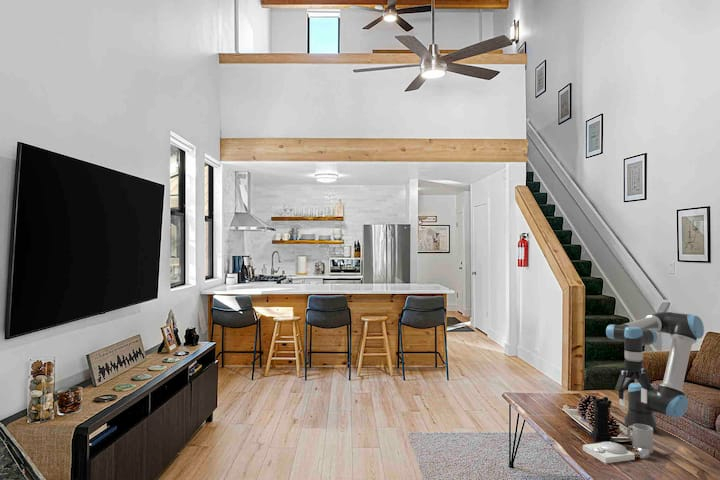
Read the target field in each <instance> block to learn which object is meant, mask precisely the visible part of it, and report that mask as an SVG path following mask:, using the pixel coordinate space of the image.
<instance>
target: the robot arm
mask: <svg viewBox="0 0 720 480" xmlns="http://www.w3.org/2000/svg"><path fill="white" fill-rule="evenodd" d="M704 327H705V326H704V323H703V320H702V318H700V316H698V315H695V314H694V315H693V314H691V313H690V314H689V313H681V312H680V313H679V312H672V311H663V312H656V313H651V314H648V315H646V316H645V317H644V318H642V319H637V320H634V321H630V322H626V323H622V324H608V325H607V326H606V329H605V334H606V337H607V338H608V339H610V340H614V341H619V342H624V367H625V370H622V369H621V370H620V372H619V377H618V378H617V379H618V380H617V382H616V385H615V388H614V390H615V391H617V392H618V398H619V399H618V400H619V403H618V405H619V406H621V407H626V392H625V391H626V389H627V388H628V389H627V396H628V397H627V399H628V400H627V407H628V408H627V412H626V415H625V418H624V419H623V420H624V421H623V422H624V423H623V424H624V425H626V426H625V427H627V426H628V427H629V426H633V424H645V425H648V426H651V427H652V428H653V433H654V432H657V431H658V424H657V423H656V419H655V415H654V413H659V414H660V415H661V414H662V415H665V416H668V417H671V418H677V419H678V418H681V417H682V416H684V415H685V414H686V413H687V412H686V411H687V410H688V406H689V403H688V402H689V400H688V397H687V396H685V395H686V392H685V391H684V390H683V386H684V382H685V377H686V373H687V369H688V363H689V360H690V355H691V351H692V345H694V344H696V343H697V340H698V339H703V336H704V332H705V328H704ZM657 333H665V334H669V336H670V338H671V339H672V342H671V346H670V349H669V354H668V358H667V363H666V367H665V372H664V377H663V379H662V380H663V381H662V382H661V383H659V384H658V386H657V388H655V386H654V384H653V383H651V382H650V379H649V376H648V373H647V369H646V368H643V354H644V353H643V346H651V345H653V344H655V343H656V342H657V340H658V335H657ZM634 380H637V381H638V382H632V381H634ZM628 427H627V428H628Z"/></svg>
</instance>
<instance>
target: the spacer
mask: <svg viewBox="0 0 720 480" xmlns="http://www.w3.org/2000/svg"><path fill="white" fill-rule="evenodd" d="M638 454H639V455H640V458H639V459H641V460H649V459H650V454H649V449H648V448H646V447H641V446H640V447H638V452H637V455H638Z"/></svg>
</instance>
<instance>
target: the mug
mask: <svg viewBox="0 0 720 480" xmlns="http://www.w3.org/2000/svg"><path fill="white" fill-rule="evenodd" d="M631 430H632V435H631ZM626 433H627V438H628V439H629V440H631V441H632V446H633V447H635V448H637V449H638V447H640V446H641V447H646V448H648V449H649V455H650V454H653V453H654V432H653V428H652V427H651V426H648V425H645V424H633V426H629V427H627V431H626Z"/></svg>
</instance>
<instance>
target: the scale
mask: <svg viewBox="0 0 720 480" xmlns="http://www.w3.org/2000/svg"><path fill="white" fill-rule="evenodd" d="M582 451H583V452H585V453H587V454H589V455H590V456H592V457H593V458H595V459H598V460H599V461H600V462H603V463H604V464H611V463H618V462H627V461H634V460H635V459H636V458H635V457H636V456H635V455H636V454H635V453H633V451H632V452H631V450H628V449H627V448H626V447H625V446H624V445H622V444H620V443H617V442H614V441H613V442H596V443H589V444H583V445H582Z"/></svg>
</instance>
